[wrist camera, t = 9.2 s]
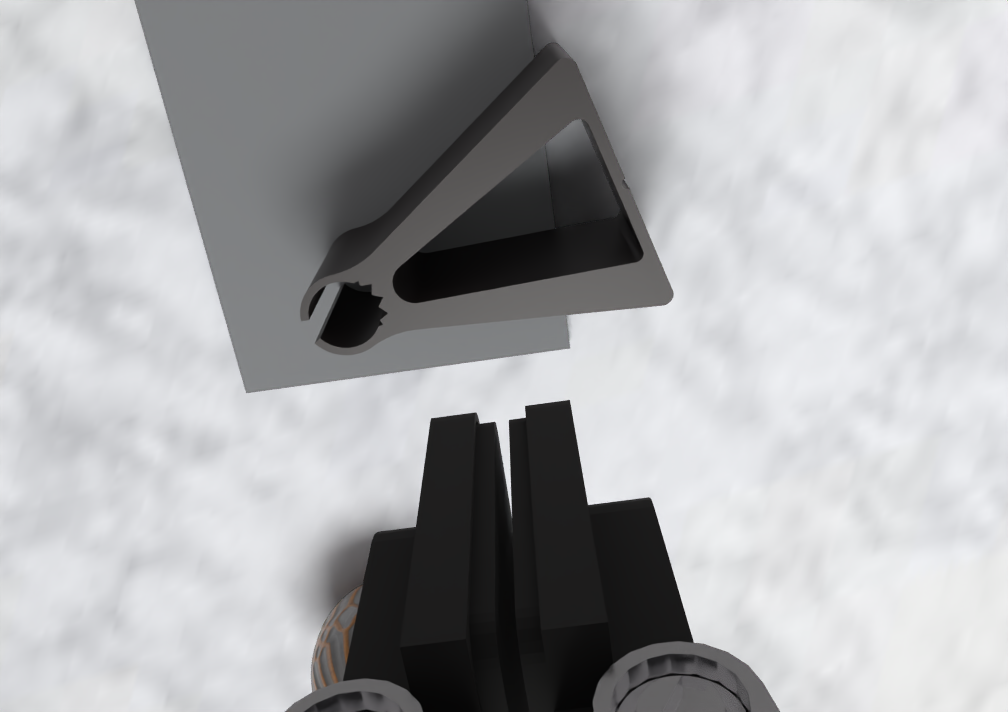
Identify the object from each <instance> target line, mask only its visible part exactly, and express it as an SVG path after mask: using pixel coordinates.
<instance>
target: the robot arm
mask: <svg viewBox="0 0 1008 712" xmlns="http://www.w3.org/2000/svg"><path fill="white" fill-rule="evenodd" d="M525 411H526V418H521V419H513V420H509V436H510V466H511V496H512V516H511V510H510V504H509V498H508V492H507V486H506V479H505V473H504V467H503V461H502V455H501V449H500V443H499V437H498V431H497V427H496V423H495V422H490V423H483V424H480V423H479V419H478V415H477V413H469V414H461V415H454V416H446V417H439V418H431V422H430V429H429V436H428V443H427V451H426V458H425V465H424V473H423V480H422V487H421V495H420V502H419V509H418V516H417V524H416V527H413V528H405V529H397V530H389V531H381V532H377V533H376V534H374V537H373V540H372V544H371V548H370V553H369V558H368V563H367V567H366V572H365V577H364V582H363V587H362V591H361V596H360V601H359V606H358V610H357V615H356V620H355V625H354V629H353V634H352V639H351V644H350V649H349V653H348V658H347V663H346V668H345V672H344V677H343V681H341V682H338V683H335V684H332V685H329V686H326V687H324V688H321V689H318V690H316V691H314V692H312V693H311V694H309V695H307V696H306V697H304V698H302V699H301V700H299V701H297V702H295V703H294V704H293V705H292V706H291V707H290V708H288V709H287V710H286V711H285V712H780V711H779V709H778V707H777V706H776V704H775V702H774V701H773V699H772V697H771V696H770V694H769V692H768V690H767V689H766V687H765V685H764V684H763V682H762V681H761V680H760V679H759V678H758V676H757V675H756V674H755V673H754V672H753V670H752V669H751V668H750V667H749V666H748V665H747V664H745V663H744V662H742V661H741V660H739V659H738V658H736V657H735V656H733V655H731V654H730V653H728V652H726V651H723V650H720V649H717V648H714V647H711V646H708V645H705V644H700V643H694V642H693V638H692V635H691V632H690V628H689V625H688V621H687V618H686V615H685V611H684V608H683V604H682V601H681V598H680V594H679V591H678V587H677V584H676V580H675V577H674V574H673V570H672V567H671V563H670V560H669V557H668V553H667V550H666V546H665V543H664V540H663V536H662V533H661V529H660V526H659V522H658V519H657V516H656V512H655V509H654V506H653V503H652V500H651V499H650V498H641V499H633V500H625V501H617V502H610V503H602V504H594V505H588V503H587V497H586V491H585V486H584V480H583V474H582V468H581V462H580V457H579V451H578V445H577V439H576V434H575V428H574V422H573V416H572V410H571V405H570V400H567V401H559V402H552V403H544V404H537V405H529V406H525Z"/></svg>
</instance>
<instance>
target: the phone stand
mask: <svg viewBox="0 0 1008 712" xmlns="http://www.w3.org/2000/svg"><path fill="white" fill-rule="evenodd" d="M576 119H581V120H582V122H583V125H584V127H585V129H586V131H587V134H588V136H589V138H590V141H591V143H592V145H593V148H594V150H595V152H596V155H597V157H598V159H599V162H600V164H601V166H602V168H603V171H604V173H605V175H606V178H607V180H608V182H609V185H610V187H611V189H612V192H613V194H614V196H615V198H616V201H617V203H618V205H619V208H620V212H619V214H618V215H617V216H616V217H614V218H609V219H603V220H598V221H593V222H588V223H582V224H577V225H572V226H567V227H561V228H556V229H551V230H546V231H540V232H535V233H530V234H525V235H519V236H514V237H509V238H503V239H498V240H493V241H488V242H482V243H477V244H472V245H467V246H461V247H456V248H451V249H446V250H440V251H435V252H430V253H422V252H419V250H420V249H421V248H422V247H424V246H425V245H426V244H427V243H428V242H429V241H431V240H432V239H433V238H434V237H435V236H437V235H438V234H439V233H440V232H441V231H443V230H444V229H445V228H446V227H447V226H448V225H450V224H451V223H452V222H453V221H454V220H456V219H457V218H458V217H459V216H460V215H462V214H463V213H464V212H465V211H466V210H467V209H469V208H470V207H471V206H472V205H473V204H475V203H476V202H477V201H478V200H479V199H480V198H482V197H483V196H484V195H485V194H486V193H488V192H489V191H490V190H491V189H492V188H494V187H495V186H496V185H497V184H498V183H499V182H501V181H502V180H503V179H504V178H505V177H507V176H508V175H509V174H510V173H511V172H513V171H514V170H515V169H516V168H517V167H518V166H520V165H521V164H522V163H523V162H524V161H526V160H527V159H528V158H529V157H530V156H532V155H533V154H534V153H535V152H536V151H537V150H539V149H540V148H541V147H542V146H543V145H545V144H546V143H547V142H548V141H549V140H550V139H552V138H553V137H554V136H555V135H556V134H558V133H559V132H560V131H561V130H562V129H564V128H565V127H566V126H567V125H568V124H569V123H571V122H572V121H574V120H576ZM623 179H625V177H624V175H623V173H622V170H621V168H620V166H619V163H618V161H617V158H616V156H615V154H614V151H613V149H612V147H611V144H610V142H609V140H608V137H607V135H606V133H605V130H604V128H603V125H602V123H601V121H600V118H599V116H598V114H597V111H596V109H595V107H594V104H593V102H592V100H591V97H590V95H589V93H588V90H587V88H586V85H585V83H584V81H583V78H582V76H581V74H580V71H579V69H578V67H577V64H576V63H575V61H574V60H573V59H572V58H571V57H570V56H569V55H568V54H567V53H566V52H565V51H564V49H563V48H562V47H561V46H560V45H559V44H557V43H550V44H548V45H546V46H545V47H544V48H543V49H542V50H541V51H540V53H539V54H538V55H537V56H536V57H535V58H534V59H533V60H532V61H531V62H530V63H529V64H528V65H527V66H526V67H525V68H524V69H523V70H522V71H521V72H520V73H519V75H518V76H517V77H516V78H515V79H514V80H513V81H512V82H511V83H510V84H509V85H508V86H507V87H506V88H505V89H504V90H503V91H502V92H501V93H500V94H499V95H498V96H497V98H496V99H495V100H494V101H493V102H492V103H491V104H490V105H489V106H488V107H487V108H486V109H485V110H484V111H483V112H482V113H481V114H480V115H479V116H478V117H477V118H476V120H475V121H474V122H473V123H472V124H471V125H470V126H469V127H468V128H467V129H466V130H465V131H464V132H463V133H462V134H461V135H460V136H459V137H458V138H457V139H456V140H455V142H454V143H453V144H452V145H451V146H450V147H449V148H448V149H447V150H446V151H445V152H444V153H443V154H442V155H441V156H440V157H439V158H438V159H437V160H436V161H435V162H434V163H433V165H432V166H431V167H430V168H429V169H428V170H427V171H426V172H425V173H424V174H423V175H422V176H421V177H420V178H419V179H418V180H417V181H416V182H415V183H414V184H413V185H412V187H411V188H410V189H409V190H408V191H407V192H406V193H405V194H404V195H403V196H402V197H401V198H400V199H399V200H398V201H397V202H396V203H395V204H394V205H393V206H392V207H391V208H390V209H389V210H388V211H387V212H386V213H385V214H384V215H382V216H381V217H380V218H378V219H377V220H375V221H373V222H371V223H369V224H367V225H364V226H361V227H358V228H354V229H351V230H349V231H346V232H345V233H343V234H342V235H340V236H339V237H338V238H337V239H336V240H335V241H334V243H333V244H332V246H331V248H330V250H329V252H328V253H327V255H326V257H325V259H324V261H323V263H322V264H321V266H320V268H319V270H318V272H317V273H316V275H315V277H314V279H313V281H312V282H311V284H310V286H309V288H308V290H307V291H306V293H305V295H304V297H303V299H302V302H301V307H300V318H301V321H307V320H309V319H310V317H311V315H312V313H313V311H314V309H315V307H316V305H317V303H318V301H319V299H320V297H321V295H322V293H323V291H324V289H325V287H326V285H328V284H331V283H335V282H350V283H355V282H357V281H359V284H360V286H363V285H369V284H372V291H371V292H362V291H357V290H354V289H352V288H350V287H349V286H347V285H346V284H345V283H344V284H343V285H342V286H341V287H340V288H339V291H338V293H337V295H336V297H335V299H334V302H333V304H332V306H331V308H330V310H329V313H328V315H327V317H326V319H325V321H324V324H323V326H322V328H321V330H320V332H319V335H318V337H317V339H316V341H315V344H316V345H317V346H318V347H320V348H322V349H323V350H325V351H328V352H330V353H333V354H338V355H355V354H359V353H362V352H365V351H367V350H369V349H370V348H372V347H373V346H375V345H376V344H378V343H379V342H381V341H383V340H384V339H386V338H389V337H391V336H393V335H396V334H399V333H402V332H406V331H411V330H419V329H429V328H439V327H449V326H459V325H469V324H479V323H490V322H500V321H510V320H520V319H530V318H540V317H550V316H561V315H571V314H581V313H591V312H601V311H611V310H621V309H632V308H642V307H652V306H662V305H666V304H668V303H669V302H670V301H671V300H672V298H673V290H672V288H671V286H670V283H669V281H668V279H667V276H666V274H665V272H664V269H663V267H662V264H661V262H660V260H659V257H658V255H657V253H656V250H655V248H654V246H653V243H652V241H651V239H650V236H649V234H648V231H647V229H646V227H645V224H644V222H643V220H642V217H641V215H640V213H639V210H638V208H637V206H636V203H635V201H634V198H633V196H632V194H631V191H630V189H629V187H628V186H627V184H626V183H625V181H624V180H623Z"/></svg>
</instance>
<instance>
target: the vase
mask: <svg viewBox="0 0 1008 712" xmlns="http://www.w3.org/2000/svg"><path fill="white" fill-rule="evenodd" d="M362 587H363V585H361V586H359V587H357V588H356V589H354V590H353V591H351V592H350V593H349V594H348V595H346V596H345V597H344V598H343V599H342V600H341V601H340V602H339V603H338V604H337V605H336V606H335V608H334V609H333V610H332V611H331V613H330V614H329V616H328V617H327V619H326V621H325V622H324V624H323V626H322V628H321V631H320V633H319V636H318V639H317V642H316V645H315V649H314V653H313V658H312V665H311V684H312V692H314V691H316V690H318V689H321V688H324V687H326V686H329V685H332V684H335V683H338V682H341V681H343V677H344V672H345V668H346V663H347V658H348V653H349V649H350V644H351V639H352V634H353V629H354V625H355V620H356V615H357V610H358V606H359V601H360V596H361V591H362Z"/></svg>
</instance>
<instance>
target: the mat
mask: <svg viewBox="0 0 1008 712" xmlns="http://www.w3.org/2000/svg"><path fill="white" fill-rule="evenodd" d="M135 4H136V7H137V11H138V14H139V18H140V21H141V25H142V28H143V32H144V35H145V39H146V42H147V46H148V49H149V53H150V56H151V60H152V63H153V67H154V71H155V74H156V78H157V81H158V85H159V88H160V92H161V95H162V99H163V102H164V106H165V109H166V113H167V116H168V120H169V123H170V127H171V130H172V134H173V137H174V141H175V144H176V148H177V151H178V155H179V158H180V162H181V165H182V169H183V172H184V176H185V179H186V183H187V187H188V190H189V194H190V197H191V201H192V204H193V208H194V211H195V215H196V218H197V222H198V225H199V229H200V232H201V236H202V239H203V243H204V246H205V250H206V253H207V257H208V260H209V264H210V267H211V271H212V274H213V278H214V281H215V285H216V288H217V292H218V295H219V299H220V303H221V306H222V310H223V313H224V317H225V320H226V324H227V327H228V331H229V334H230V338H231V341H232V345H233V348H234V352H235V355H236V359H237V362H238V366H239V369H240V373H241V376H242V380H243V383H244V387H245V390H246V393H251V392H258V391H265V390H272V389H280V388H287V387H294V386H301V385H309V384H316V383H323V382H330V381H337V380H345V379H352V378H359V377H366V376H374V375H381V374H388V373H395V372H403V371H410V370H417V369H424V368H431V367H439V366H446V365H453V364H460V363H468V362H475V361H482V360H489V359H496V358H504V357H511V356H518V355H525V354H533V353H540V352H547V351H554V350H561V349H569V348H570V344H569V335H568V327H567V319H566V315H561V316H550V317H540V318H530V319H520V320H510V321H500V322H490V323H479V324H469V325H459V326H449V327H439V328H429V329H419V330H411V331H406V332H402V333H399V334H396V335H393V336H391V337H389V338H386V339H384V340H383V341H381V342H379V343H378V344H376V345H375V346H373V347H372V348H370V349H369V350H367V351H365V352H362V353H359V354H355V355H338V354H333V353H330V352H328V351H325V350H323V349H322V348H320V347H318V346H317V345H316V344H315V341H316V339H317V337H318V335H319V332H320V330H321V328H322V326H323V324H324V321H325V319H326V317H327V315H328V313H329V310H330V308H331V306H332V304H333V302H334V299H335V297H336V295H337V293H338V291H339V288H340V287H341V286H342V285H343V284H344V283H345V284H346V285H347V286H349V287H350V288H352V289H354V290H357V291H362V292H371V291H372V284H369V285H363V286H360V284H359V281H357V282H355V283H350V282H335V283H331V284H328V285H326V287H325V289H324V291H323V293H322V295H321V297H320V299H319V301H318V303H317V305H316V307H315V309H314V311H313V313H312V315H311V317H310V319H309V320H307V321H301V318H300V307H301V302H302V299H303V297H304V295H305V293H306V291H307V290H308V288H309V286H310V284H311V282H312V281H313V279H314V277H315V275H316V273H317V272H318V270H319V268H320V266H321V264H322V263H323V261H324V259H325V257H326V255H327V253H328V252H329V250H330V248H331V246H332V244H333V243H334V241H335V240H336V239H337V238H338V237H339V236H340V235H342V234H343V233H345V232H346V231H349V230H351V229H354V228H358V227H361V226H364V225H367V224H369V223H371V222H373V221H375V220H377V219H378V218H380V217H381V216H382V215H384V214H385V213H386V212H387V211H388V210H389V209H390V208H391V207H392V206H393V205H394V204H395V203H396V202H397V201H398V200H399V199H400V198H401V197H402V196H403V195H404V194H405V193H406V192H407V191H408V190H409V189H410V188H411V187H412V185H413V184H414V183H415V182H416V181H417V180H418V179H419V178H420V177H421V176H422V175H423V174H424V173H425V172H426V171H427V170H428V169H429V168H430V167H431V166H432V165H433V163H434V162H435V161H436V160H437V159H438V158H439V157H440V156H441V155H442V154H443V153H444V152H445V151H446V150H447V149H448V148H449V147H450V146H451V145H452V144H453V143H454V142H455V140H456V139H457V138H458V137H459V136H460V135H461V134H462V133H463V132H464V131H465V130H466V129H467V128H468V127H469V126H470V125H471V124H472V123H473V122H474V121H475V120H476V118H477V117H478V116H479V115H480V114H481V113H482V112H483V111H484V110H485V109H486V108H487V107H488V106H489V105H490V104H491V103H492V102H493V101H494V100H495V99H496V98H497V96H498V95H499V94H500V93H501V92H502V91H503V90H504V89H505V88H506V87H507V86H508V85H509V84H510V83H511V82H512V81H513V80H514V79H515V78H516V77H517V76H518V75H519V73H520V72H521V71H522V70H523V69H524V68H525V67H526V66H527V65H528V64H529V63H530V62H531V61H532V60H533V59H534V53H533V45H532V37H531V29H530V21H529V13H528V5H527V0H135ZM551 229H555V222H554V214H553V206H552V198H551V190H550V182H549V174H548V166H547V158H546V150H545V145H543V146H542V147H541V148H540V149H539V150H537V151H536V152H535V153H534V154H533V155H532V156H530V157H529V158H528V159H527V160H526V161H524V162H523V163H522V164H521V165H520V166H518V167H517V168H516V169H515V170H514V171H513V172H511V173H510V174H509V175H508V176H507V177H505V178H504V179H503V180H502V181H501V182H499V183H498V184H497V185H496V186H495V187H494V188H492V189H491V190H490V191H489V192H488V193H486V194H485V195H484V196H483V197H482V198H480V199H479V200H478V201H477V202H476V203H475V204H473V205H472V206H471V207H470V208H469V209H467V210H466V211H465V212H464V213H463V214H462V215H460V216H459V217H458V218H457V219H456V220H454V221H453V222H452V223H451V224H450V225H448V226H447V227H446V228H445V229H444V230H443V231H441V232H440V233H439V234H438V235H437V236H435V237H434V238H433V239H432V240H431V241H429V242H428V243H427V244H426V245H425V246H424V247H422V248H421V249H420V250H419V252H422V253H430V252H435V251H440V250H446V249H451V248H456V247H461V246H467V245H472V244H477V243H482V242H488V241H493V240H498V239H503V238H509V237H514V236H519V235H525V234H530V233H535V232H540V231H546V230H551Z"/></svg>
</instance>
